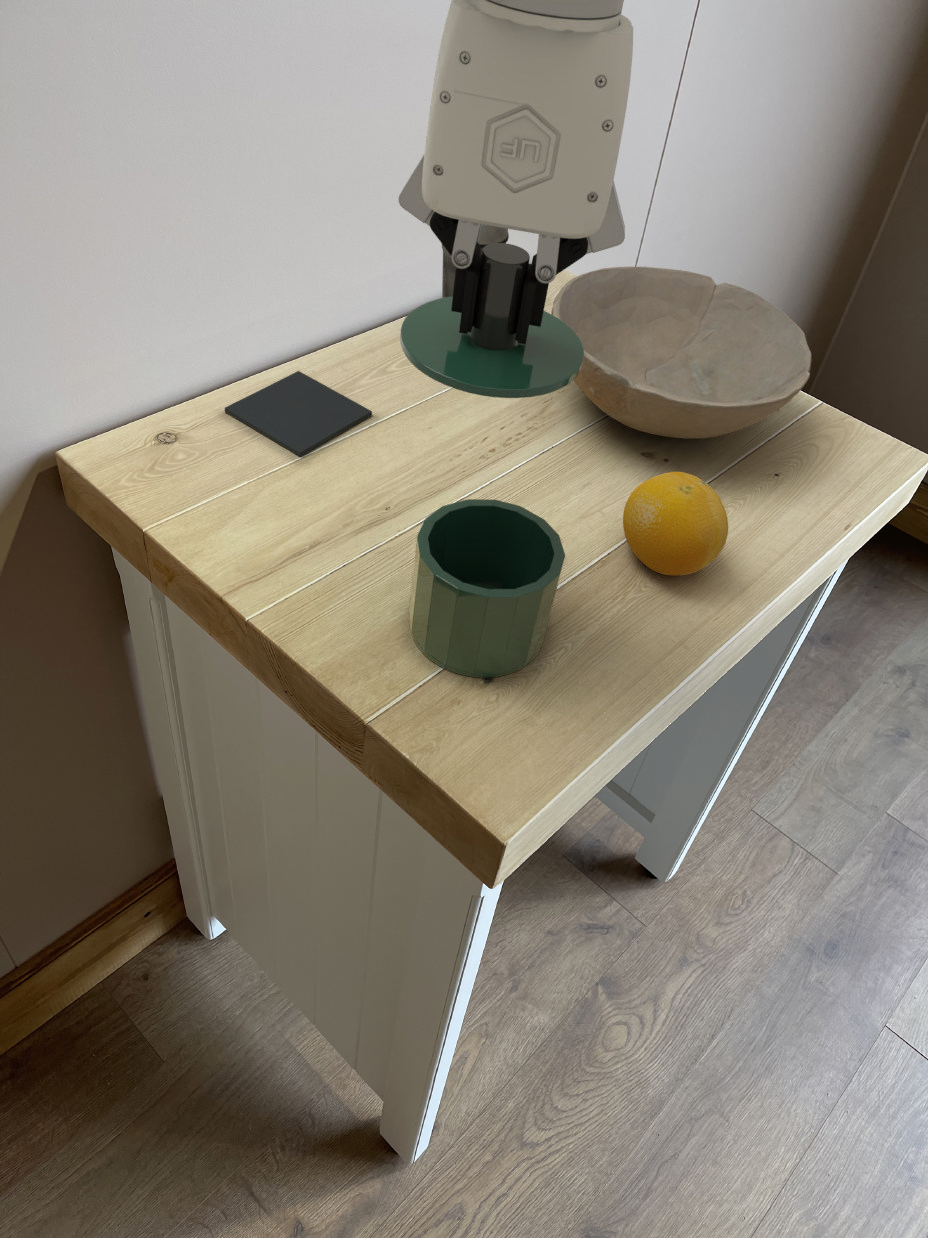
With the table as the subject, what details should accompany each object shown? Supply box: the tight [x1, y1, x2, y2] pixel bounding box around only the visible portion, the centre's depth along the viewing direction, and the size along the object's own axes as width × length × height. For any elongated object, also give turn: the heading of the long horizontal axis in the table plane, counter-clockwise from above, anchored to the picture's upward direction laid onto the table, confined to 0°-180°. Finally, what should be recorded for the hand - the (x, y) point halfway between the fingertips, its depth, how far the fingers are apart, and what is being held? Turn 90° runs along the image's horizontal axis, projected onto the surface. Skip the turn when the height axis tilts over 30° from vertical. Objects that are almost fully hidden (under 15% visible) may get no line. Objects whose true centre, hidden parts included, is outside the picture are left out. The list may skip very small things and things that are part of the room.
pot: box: [408, 498, 566, 679], centre depth 69 cm, size 11×11×8 cm
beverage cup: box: [441, 224, 510, 298], centre depth 97 cm, size 7×7×20 cm
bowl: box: [550, 266, 812, 439], centre depth 94 cm, size 26×26×10 cm
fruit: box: [622, 471, 729, 576], centre depth 78 cm, size 9×8×8 cm
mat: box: [224, 370, 373, 458], centre depth 90 cm, size 10×10×1 cm
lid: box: [399, 242, 584, 399], centre depth 56 cm, size 12×12×7 cm
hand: (495, 325), depth 57 cm, fingers closed on lid, 2 cm apart
